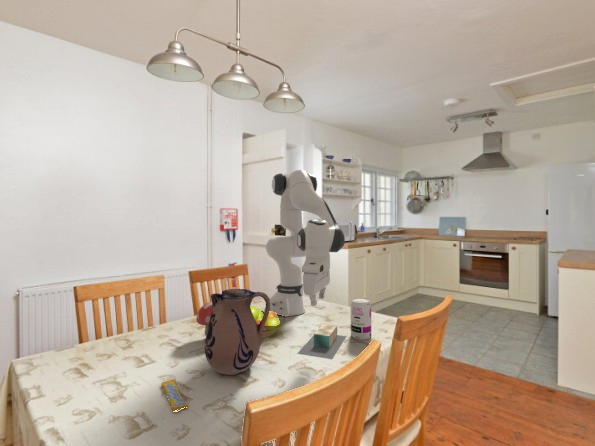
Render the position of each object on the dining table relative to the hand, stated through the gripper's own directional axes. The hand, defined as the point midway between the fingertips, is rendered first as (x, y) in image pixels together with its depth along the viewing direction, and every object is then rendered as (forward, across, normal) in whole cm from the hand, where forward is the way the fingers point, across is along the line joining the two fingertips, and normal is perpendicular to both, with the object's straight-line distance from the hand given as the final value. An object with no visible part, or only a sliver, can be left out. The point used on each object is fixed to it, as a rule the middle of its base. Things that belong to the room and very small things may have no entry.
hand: (317, 301), depth 117 cm
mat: (+18, -6, 0) cm, 19 cm away
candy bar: (+19, +42, -28) cm, 54 cm away
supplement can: (+19, -19, +12) cm, 29 cm away
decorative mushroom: (+19, +4, -44) cm, 48 cm away
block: (+16, -3, 0) cm, 16 cm away
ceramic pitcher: (+18, +21, -21) cm, 35 cm away
